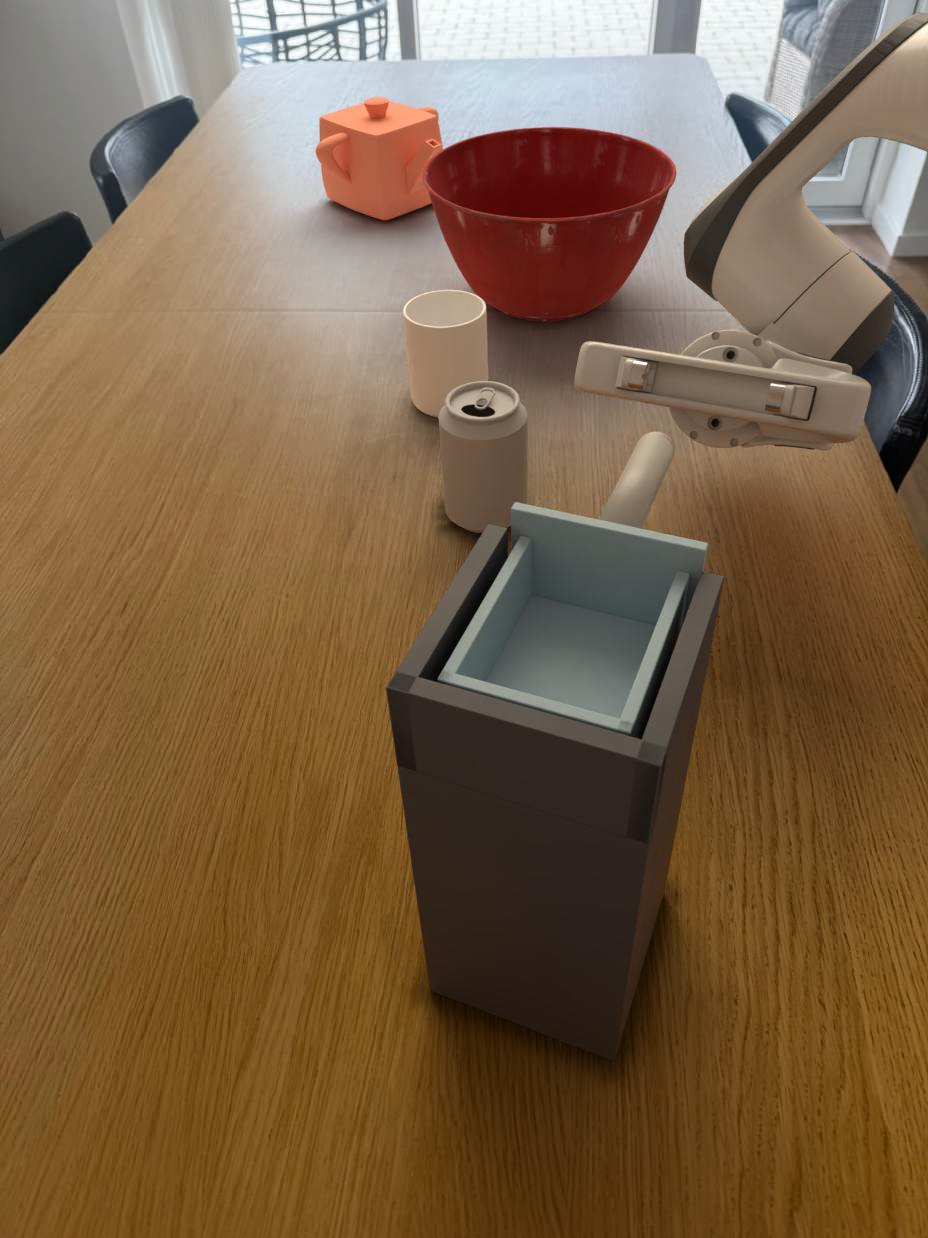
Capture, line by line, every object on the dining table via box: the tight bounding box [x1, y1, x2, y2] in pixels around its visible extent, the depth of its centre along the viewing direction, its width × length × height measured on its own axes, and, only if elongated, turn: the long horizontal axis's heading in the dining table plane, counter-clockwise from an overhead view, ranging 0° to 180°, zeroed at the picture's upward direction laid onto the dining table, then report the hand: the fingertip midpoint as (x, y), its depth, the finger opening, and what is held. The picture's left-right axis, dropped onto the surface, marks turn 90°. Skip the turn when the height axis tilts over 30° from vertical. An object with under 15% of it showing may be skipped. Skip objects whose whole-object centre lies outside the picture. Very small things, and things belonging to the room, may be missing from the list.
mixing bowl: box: [423, 126, 677, 323], centre depth 114 cm, size 28×28×15 cm
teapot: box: [315, 96, 444, 221], centre depth 138 cm, size 20×22×14 cm
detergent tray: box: [437, 431, 709, 739], centre depth 45 cm, size 9×20×6 cm, turn 157°
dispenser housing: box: [385, 524, 725, 1062], centre depth 49 cm, size 11×11×26 cm
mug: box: [402, 289, 489, 418], centre depth 100 cm, size 12×8×10 cm
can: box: [438, 380, 529, 534], centre depth 84 cm, size 8×8×12 cm
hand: (704, 385), depth 62 cm, fingers open, 8 cm apart
